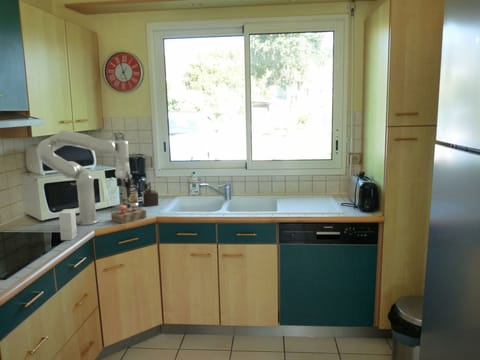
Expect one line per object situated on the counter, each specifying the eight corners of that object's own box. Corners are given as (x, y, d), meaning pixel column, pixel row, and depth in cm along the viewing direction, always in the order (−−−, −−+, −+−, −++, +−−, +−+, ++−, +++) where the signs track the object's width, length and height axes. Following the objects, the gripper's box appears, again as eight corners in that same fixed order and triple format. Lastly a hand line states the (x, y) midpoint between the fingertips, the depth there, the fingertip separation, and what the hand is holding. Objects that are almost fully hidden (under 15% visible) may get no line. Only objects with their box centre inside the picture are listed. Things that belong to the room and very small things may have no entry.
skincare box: (66, 235, 225) (63, 208, 223) (78, 235, 226) (75, 208, 223) (60, 240, 217) (58, 212, 214) (73, 240, 218) (70, 212, 215)
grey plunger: (133, 212, 257) (133, 204, 256) (129, 211, 260) (129, 203, 260) (140, 210, 261) (139, 203, 260) (135, 209, 264) (135, 202, 263)
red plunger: (121, 215, 251) (120, 207, 250) (117, 213, 254) (116, 206, 253) (127, 213, 254) (127, 205, 253) (123, 212, 257) (123, 204, 257)
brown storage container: (141, 203, 300) (140, 180, 296) (156, 202, 304) (155, 179, 301) (144, 208, 285) (143, 183, 282) (160, 206, 290) (159, 182, 286)
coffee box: (128, 209, 282) (127, 187, 279) (122, 208, 286) (121, 186, 283) (138, 207, 289) (137, 185, 286) (133, 206, 293) (131, 184, 290)
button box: (121, 223, 248) (121, 216, 247) (111, 220, 256) (111, 212, 255) (146, 217, 261) (146, 210, 260) (136, 214, 269) (135, 207, 268)
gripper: (109, 159, 254) (110, 186, 257) (125, 162, 243) (126, 189, 246) (120, 158, 260) (121, 184, 263) (135, 161, 249) (136, 188, 252)
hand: (123, 187), depth 254 cm, fingers open, 9 cm apart
